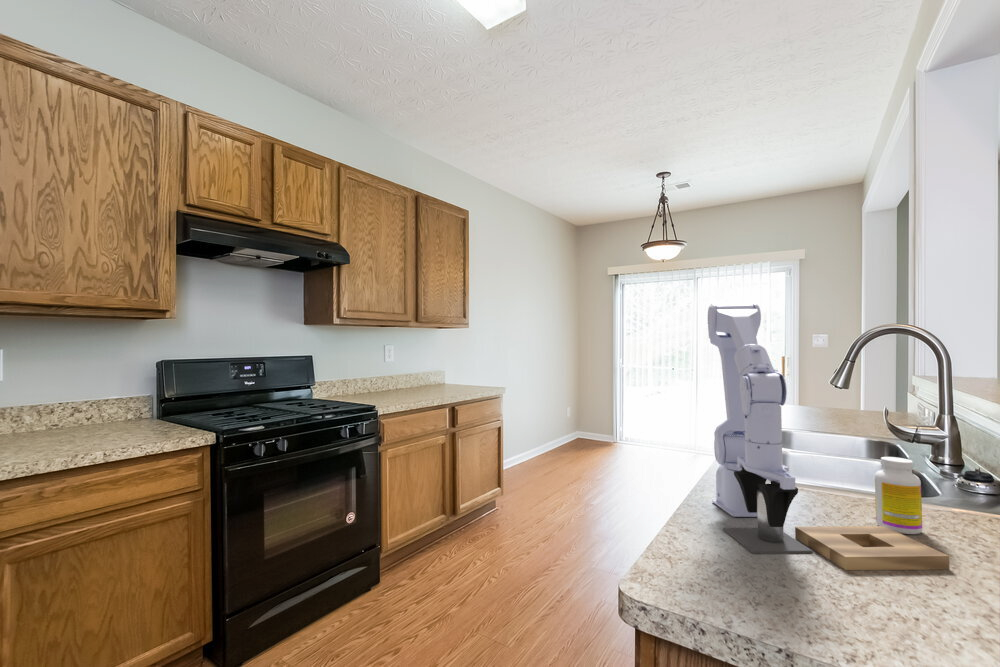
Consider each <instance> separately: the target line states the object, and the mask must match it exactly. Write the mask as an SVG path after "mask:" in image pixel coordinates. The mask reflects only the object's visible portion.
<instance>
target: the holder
mask: <svg viewBox="0 0 1000 667" xmlns="http://www.w3.org/2000/svg"><path fill="white" fill-rule="evenodd" d="M794 532H795V533H794V536H795V537H794V539H795V540H797V541H798V542H800V543H801V544H803V545H805V546H806V547H808V548H809V549H811V550H812V551H815V552H816V553H818V554H820V555H821V556H822V557H824V558H826V559H827V560H829V561H830V562H832V563H833V564H835V565H837V566H838V567H840V568H842V569H843V570H845V571H891V570H893V571H894V570H896V571H897V570H898V571H901V570H902V571H903V570H905V571H909V570H911V571H912V570H915V571H916V570H917V571H918V570H950V555H948V554H945V553H943V552H942V551H939V550H937V549H935V548H932V547H930V546H928V545H926V544H924V543H922V542H919V541H917V540H915V539H913V538H911V537H909V536H907V535H906V534H902V533H898V532H896V531H894V530H892V529H889V528H887V527H885V526H879V525H875V526H873V525H872V526H871V525H870V526H869V525H864V526H863V525H862V526H860V525H858V526H855V525H854V526H842V525H840V526H795V528H794Z"/></svg>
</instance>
